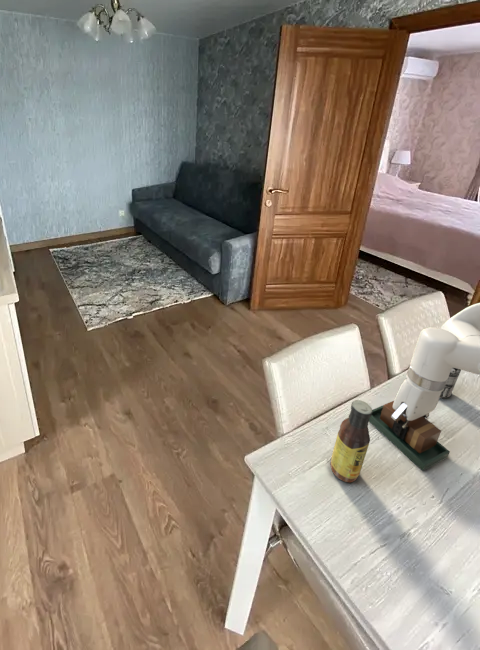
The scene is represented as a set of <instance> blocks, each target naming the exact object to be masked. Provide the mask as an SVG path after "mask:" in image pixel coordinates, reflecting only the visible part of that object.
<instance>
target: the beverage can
mask: <svg viewBox="0 0 480 650" xmlns="http://www.w3.org/2000/svg"><path fill="white" fill-rule="evenodd" d="M461 371H462V370H460V369H457V368H452V369H451V372H450V374H449V377H448V379H447V382H446V385H445V387H444V390H443V391H442V392H441V394H440V398H439V399H447V398H450V397H451V395H452V393H453V391H454V389H455V386H456V384H457V381H458V378H459V376H460V374H461Z"/></svg>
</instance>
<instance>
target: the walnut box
mask: <svg viewBox="0 0 480 650" xmlns="http://www.w3.org/2000/svg"><path fill="white" fill-rule="evenodd" d="M393 403H394V400H392V401H389V402H387V403H385V404H383V405H384V406H383V405H382V406H383V410H382V413H381V416H380V419H381V420H382V421H383V422H384V423H385V424H386V425H388V426H389V427H390V428H391V429H392V427H393V424H394V421H395V420H393V419H392V418H391V416H392V415H393V413H394V412H395V411H396V410H395V409H393ZM405 413H406V412H405ZM400 419H401V420H402V421H403V422H405V420H406V418H405V417H404V416H403V415H402V416H401V418H400ZM407 427H408V431H407V434H406V437H405V439H403V440H405V441H406V442H407V443H408V444H409V445H410V446H411V447H412V448H413V449H415V450H416V451H417V452H418V453H419V454H420V453H422V452H424V451H426V450H428V449H430V448H431V447H433V446H435V445H436V443H437V441H438V442H439V438H440V437H441V434H442V430H441V428H438V427H437V426H436V425H435V424H434V423H433V422H431V421H430V420H428V418H424V417H423V416H422V417H419V418H417V419H415V420H412V421H410V423H409V424H408V426H407Z"/></svg>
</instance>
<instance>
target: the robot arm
mask: <svg viewBox="0 0 480 650" xmlns="http://www.w3.org/2000/svg"><path fill="white" fill-rule="evenodd" d="M410 359H411V360H410V362H409V365H408V369H407V371H406V377H405V379H404V380H403V381H402V383H401V385H400V387H399V388H398V391H397V393H396V395H395V398H394V400H393V401H394V403H393V409H395V410H396V411H395V412H394V413H393V415H392V416H391V418H392V419H393V420H395V421H394V424H393V427H392V431H393V432H394V433H395V434H396V435H398V436H399V437H400V438H401V439H402V440H403V439H405V437H406V434H407V431H408V427H407V426H408V424H409V423H410V421H412V420H415V419H417V418H419V417H422V416H423V417H424V418H426V419H428V418H429V416H430V413H432V412H433V411H434V410H435V409H436V408H437V405H438V403H439V400H440V399H441V398H440V394H441V392H442V391H443V390H444V387H445V385H446V382H447V379H448V377H449V374H450V372H451V369H452V368H457V369H460V370H461V371H464V372H467V373H471V374H475V375H480V302H477V303H474V304H472V305H469V306H466V307H465V308H464V309H462V310H460V311H459V312H457V313H456V314H454V315H452V316H451V317H450V318H449V319H447V320H446V321H445V322H444V323H443V324H442V325H441V327H436V326H429V327H425V328H423V329H422V330H421V331H420V333H419V335H418V339H417V341H416V345H415V348H414V350H413V353H412V356H411V358H410ZM405 412H406V413H405ZM402 415H403V416H404V417H405V418H406V420H405V422H403V421H402V420H401V419H400V418H401V416H402Z"/></svg>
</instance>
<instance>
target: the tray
mask: <svg viewBox="0 0 480 650" xmlns="http://www.w3.org/2000/svg"><path fill="white" fill-rule="evenodd" d="M384 405H385V404H383V405H380V406H378V407H375V408H372V416H371V417H370V418H369V422H368V423H370V424H372V426H373V427H374V428H376V430H378V431H379V432H380V433H381V434H382V435H383V436H384V437H386V438H387V439H388V440H389V442H391V443H392V444H393V445H394V446H395V447H396V448H397V449H399V451H401V452H402V453H403V455H405V456H406V457H407V458H408V459H409V460H410V461H411V462H412V463H413V464H415V466H416V467H418V468H419V469H420V470H421V471H422V472H423V471H425V470H427V469H429V468H431V467H432V466H435V465H436V464H438V463H440V462H441V461H443V460H445V459H447V458H448V457H449V456H450V453H451V451H450V450H448V449H447V448H446V447H445V446H444V445H443V444H442V443H440V442H439V440H438V441H437V443H436V445H435V446H433V447H431V448H430V449H428V450H426V451H424V452H422V453H420V454H419V453H418V452H417V451H416V450H415V449H413V448H412V447H411V446H410V445H409V444H408V443H407V442H406V441H405V440H402V439H401V438H400V437H399V436H398V435H396V434H395V433H394V432H393V431H392V429H391V428H390V427H389V426H388V425H386V424H385V423H384V422H383V421H382V420H381V419H380V416H381V413H382V410H383V406H384Z"/></svg>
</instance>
